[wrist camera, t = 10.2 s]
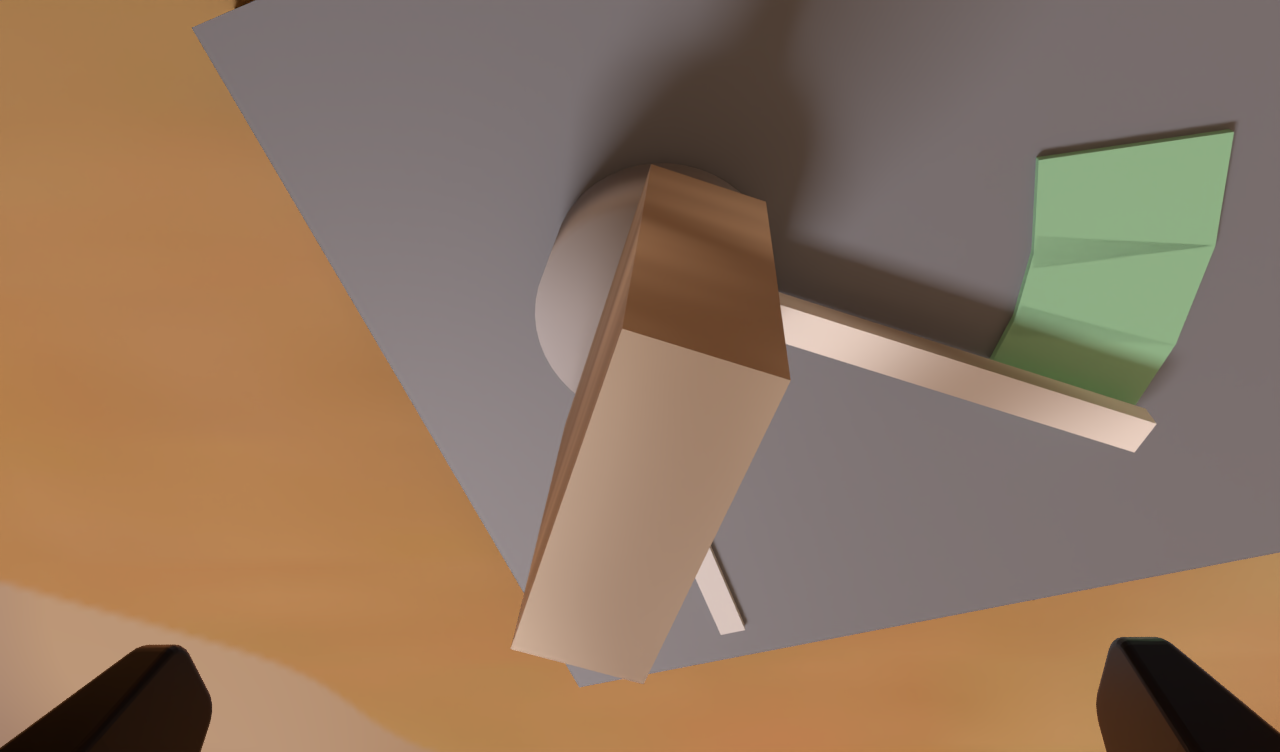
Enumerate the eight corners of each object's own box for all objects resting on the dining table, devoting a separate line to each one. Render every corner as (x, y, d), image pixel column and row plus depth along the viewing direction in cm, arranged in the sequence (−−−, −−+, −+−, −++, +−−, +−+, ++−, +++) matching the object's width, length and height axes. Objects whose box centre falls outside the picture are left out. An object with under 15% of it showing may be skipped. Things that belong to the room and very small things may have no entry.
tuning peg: (524, 350, 17) (427, 627, 11) (595, 103, 15) (516, 294, 9) (1060, 511, 19) (1224, 838, 13) (1213, 309, 16) (1509, 601, 10)
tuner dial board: (232, 11, 16) (187, 29, 15) (1447, -513, 12) (1548, -557, 10) (586, 641, 24) (578, 692, 23) (1383, 477, 20) (1434, 528, 18)
